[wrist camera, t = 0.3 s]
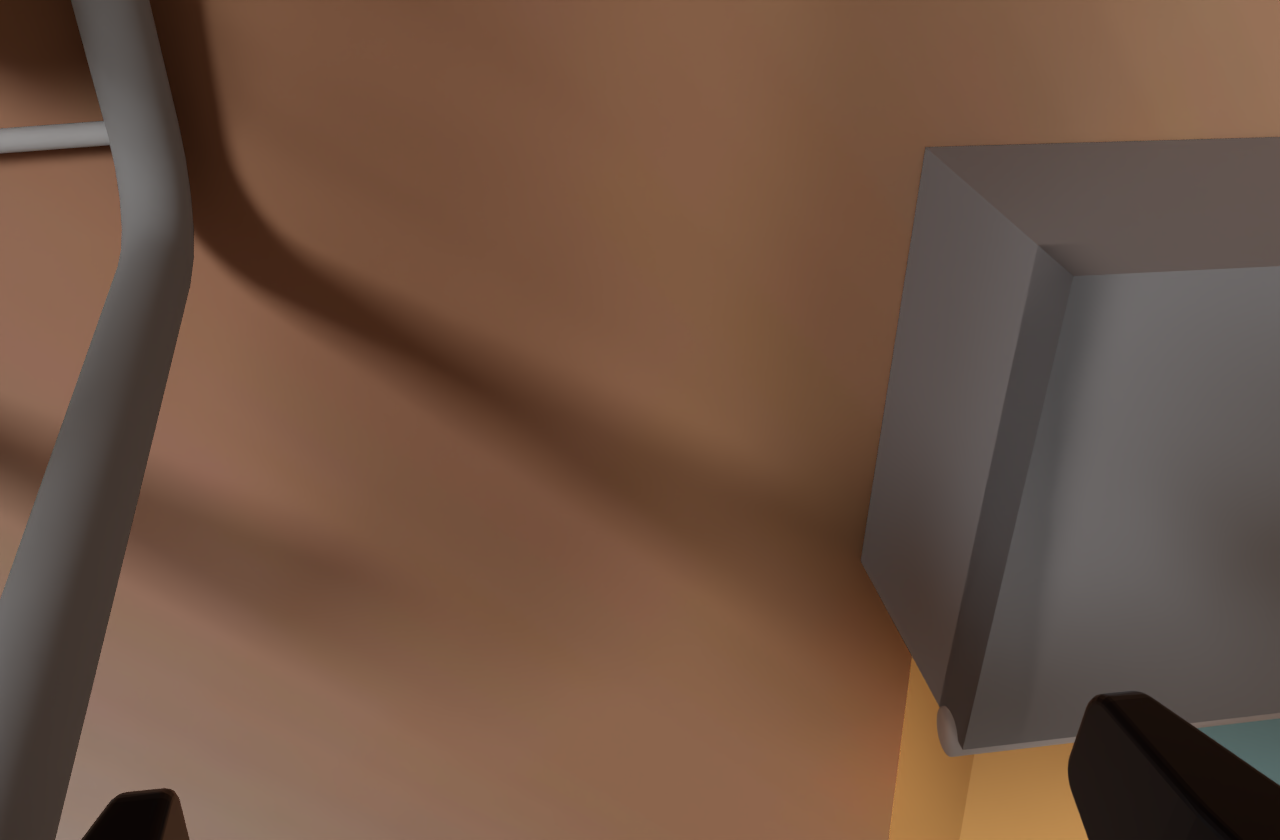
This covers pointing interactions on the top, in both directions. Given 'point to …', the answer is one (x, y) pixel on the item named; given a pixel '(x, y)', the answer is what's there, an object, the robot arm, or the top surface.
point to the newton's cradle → (95, 421)
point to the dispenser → (1086, 436)
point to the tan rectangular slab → (977, 785)
